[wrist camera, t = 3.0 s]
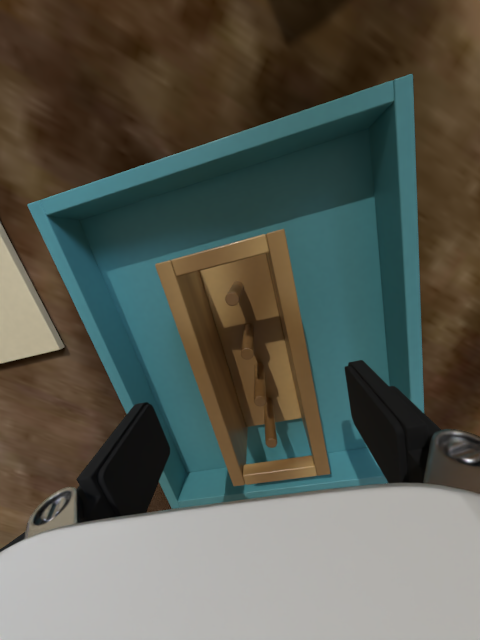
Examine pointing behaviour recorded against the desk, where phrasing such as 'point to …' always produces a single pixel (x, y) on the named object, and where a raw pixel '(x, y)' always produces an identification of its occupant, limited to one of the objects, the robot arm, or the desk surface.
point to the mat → (21, 311)
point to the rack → (247, 350)
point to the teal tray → (307, 266)
